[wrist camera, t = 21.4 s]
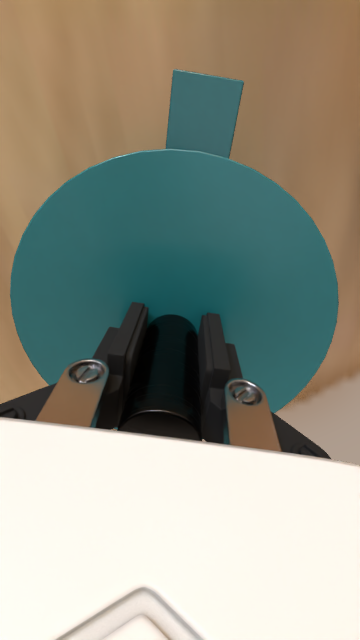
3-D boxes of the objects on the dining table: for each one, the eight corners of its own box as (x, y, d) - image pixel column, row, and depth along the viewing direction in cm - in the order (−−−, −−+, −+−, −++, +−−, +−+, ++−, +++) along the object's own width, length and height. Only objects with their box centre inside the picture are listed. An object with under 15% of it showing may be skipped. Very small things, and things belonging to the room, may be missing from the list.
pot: (92, 359, 24) (49, 440, 17) (86, 100, 15) (-14, 27, 8) (236, 378, 25) (256, 465, 17) (312, 138, 16) (422, 103, 8)
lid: (42, 408, 16) (-40, 537, 11) (-3, 121, 9) (-320, 29, 4) (271, 437, 17) (313, 576, 11) (388, 184, 10) (674, 195, 4)
